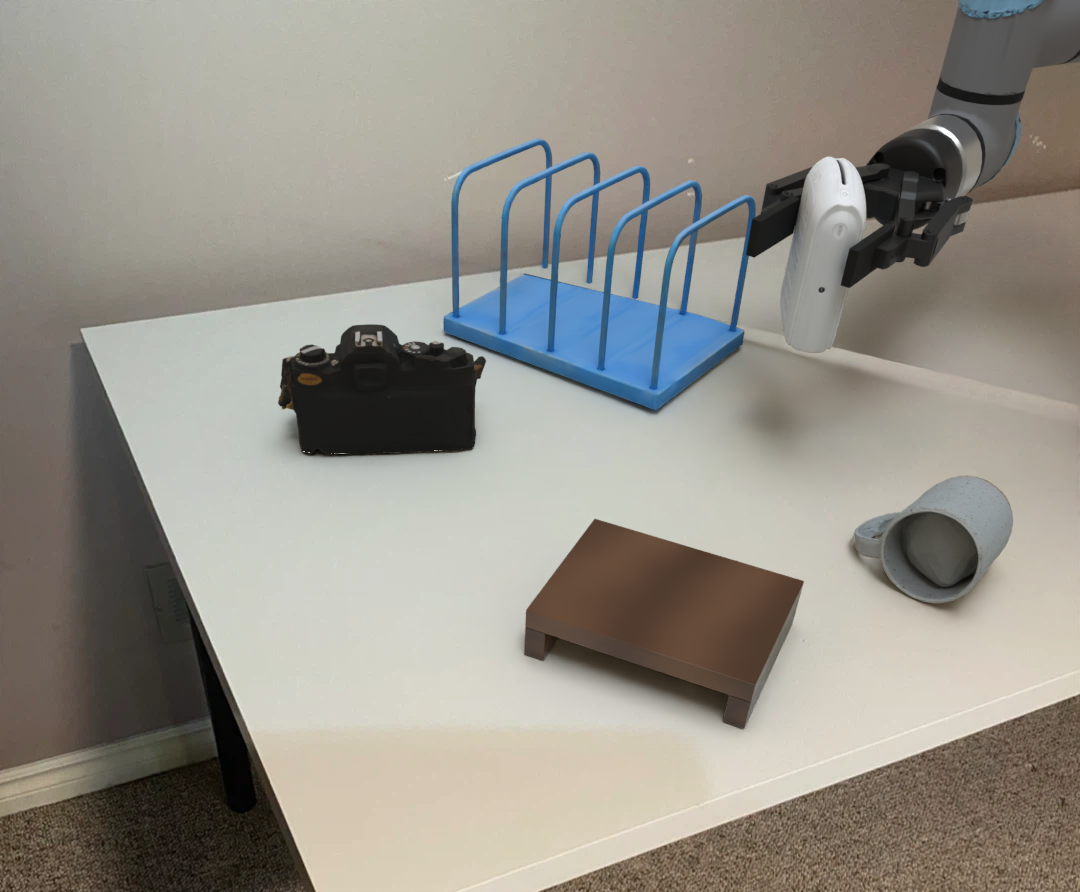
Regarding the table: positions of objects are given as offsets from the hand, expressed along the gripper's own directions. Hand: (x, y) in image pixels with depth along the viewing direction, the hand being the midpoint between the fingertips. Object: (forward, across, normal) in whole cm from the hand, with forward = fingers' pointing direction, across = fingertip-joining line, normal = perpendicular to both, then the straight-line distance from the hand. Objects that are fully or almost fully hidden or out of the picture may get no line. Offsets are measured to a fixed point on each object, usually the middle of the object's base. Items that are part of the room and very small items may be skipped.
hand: (800, 253), depth 80 cm
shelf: (+25, -6, -18) cm, 32 cm away
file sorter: (-9, +24, -18) cm, 31 cm away
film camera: (+17, +28, -18) cm, 38 cm away
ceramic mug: (+5, -17, -18) cm, 26 cm away
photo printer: (-5, 0, -8) cm, 9 cm away
